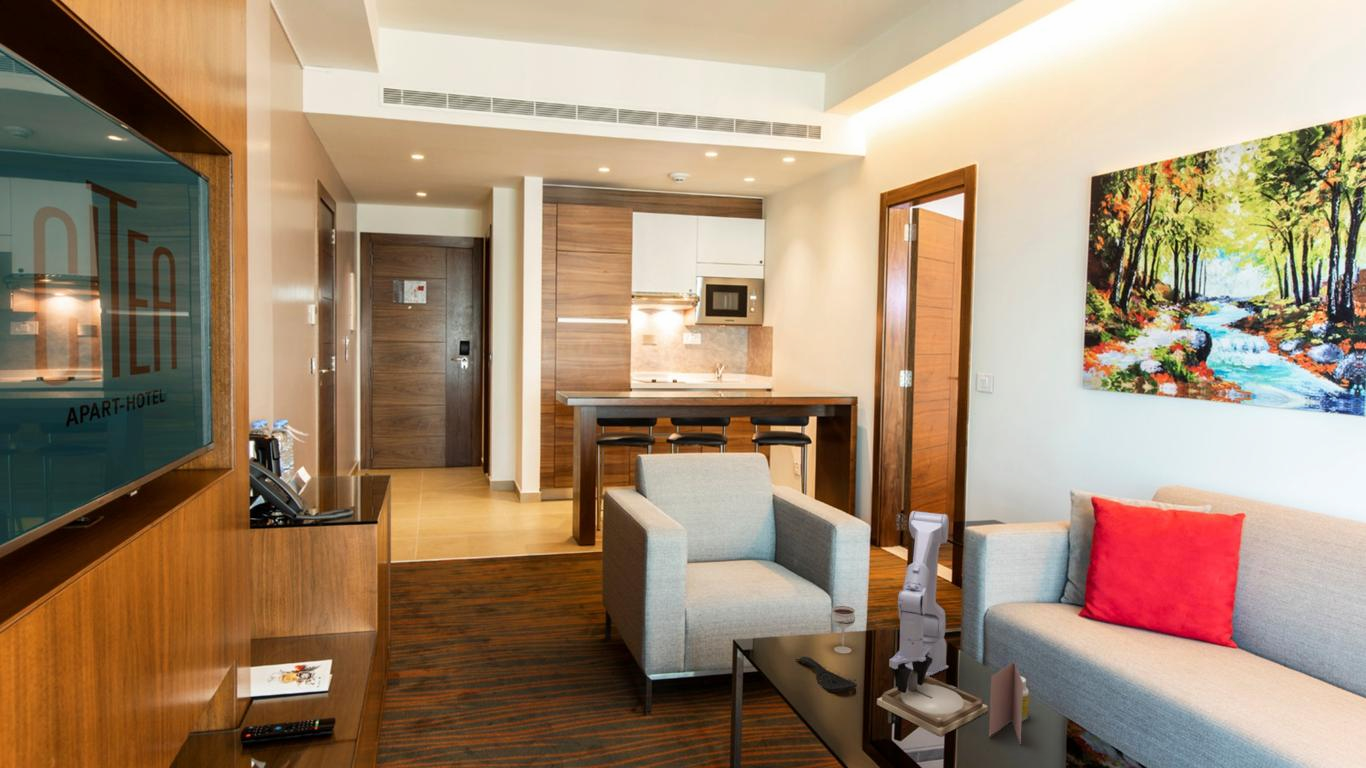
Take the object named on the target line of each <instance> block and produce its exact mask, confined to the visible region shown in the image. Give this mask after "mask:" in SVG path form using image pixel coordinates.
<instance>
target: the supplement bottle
mask: <svg viewBox="0 0 1366 768" xmlns="http://www.w3.org/2000/svg"><path fill="white" fill-rule="evenodd" d="M1020 677H1021V679H1022V682H1023V699H1022V720H1023V719H1026V718H1027V717H1028V715H1029V699H1030V698H1029V697H1030V694H1029V693H1030V691H1029V688H1028V687H1027V679H1026V678H1025V677H1024V676H1021V675H1020ZM1027 719H1028V718H1027Z"/></svg>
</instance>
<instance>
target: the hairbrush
mask: <svg viewBox="0 0 1366 768" xmlns="http://www.w3.org/2000/svg"><path fill="white" fill-rule="evenodd" d="M801 657H802V658H800V659H798V660H799V661H800V662H801V663H800V662H799V663H800V664H804V665H808V667H809V666H810V667H811V668H813V669H814V670H815V673H816V682H817V681H818V682H817V684H818V683H819V684H820V685H821V686H822V687H823V688H824V689H825V690H824V689H823V688H822V687H821V686H820V685H819V684H818V685H819V686H820V687H821V688H822V689H823V690H824V691H826V690H827V691H826V692H829V693H830V692H843V691H846V690H852V689H855V688H857V685H858V684H857V683H856V679H853V677H850V678H849V676H848V675H842V676H840V675H841V673H840V672H839V673H835V672H834V671H831V669H832V668H830V670H828V669H826V666H824V667H823V666H822V665H821V664H820V663H818V662H817V661H816V660H814V659H813V658H812V657H808V656H801ZM803 662H804V663H803ZM846 677H847V678H846ZM848 678H849V679H848ZM820 680H821V681H820Z"/></svg>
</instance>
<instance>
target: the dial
mask: <svg viewBox="0 0 1366 768" xmlns="http://www.w3.org/2000/svg"><path fill="white" fill-rule="evenodd" d="M917 676H918V673H917V672H915V671H913V670H911V672H910V674H909V678H908V686H907V690H906V693H903V692H902V693H901V701H902V702H903V703H905V704H907V705H909V706H911V707H913V708H916V709H918V710H920V711H922V712H924V713H926V714H928V715H930V716H932V717H946V716H948V715H950V714H952V713H954V712H956V711H958V710H960V709H962V708H963V706H964V702H963V699H962V698H961V696H960V695H959V694H957V693H956V692H954V691H952V690H950V689H947V688H944V687H941V686H937V685H929V684H923V685H917Z"/></svg>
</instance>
